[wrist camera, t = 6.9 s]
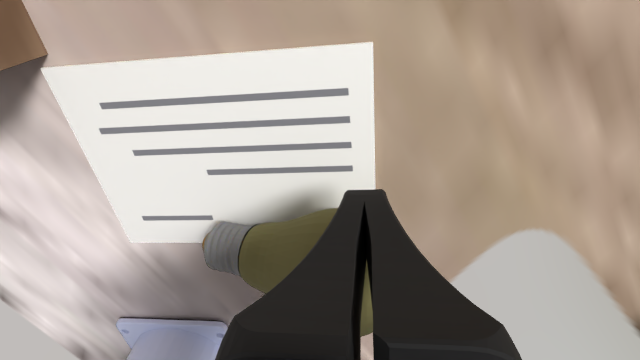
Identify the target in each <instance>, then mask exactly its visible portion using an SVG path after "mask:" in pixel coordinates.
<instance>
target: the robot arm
mask: <svg viewBox="0 0 640 360" xmlns="http://www.w3.org/2000/svg"><path fill="white" fill-rule="evenodd" d="M366 259H367V267H368V275H369V284H370V293H371V301H372V310H373V347H374V360H522V359H521V357H520V354H519V352H518V351H517V349H516V347H515V345H514V343H513V341H512V339H511V337H510V336H509V334H508V332H507V331H506V329H505V327H504V326H503V324H501V323H500V322H498V321H497V320H495V319H494V318H493V317H491V316H490V315H489V314H487V313H486V312H484V311H483V310H481V309H480V308H479V307H477V306H476V305H474V304H473V303H472V302H471V301H470V300H468V299H467V298H466V297H465V296H463V295H462V294H461V293H460V292H459V291H458V290H457V289H456V288H454V287H453V286H452V285H451V284H450V283H449V282H448V281H447V280H446V279H445V278H444V277H443V276H442V275H441V274H440V273H439V272H438V271H437V270H436V269H435V268H434V267H433V266H432V265H431V264H430V263H429V262H428V260H427V259H426V258H425V257H424V256H423V255H422V254H421V252H420V251H419V250H418V249H417V247H416V246H415V245H414V243H413V242H412V240H411V239H410V238H409V236H408V235H407V233H406V232H405V230H404V229H403V227H402V226H401V224H400V222H399V221H398V219H397V217H396V216H395V214H394V212H393V210H392V208H391V206H390V204H389V201H388V199H387V196H386V193H385V191H383V190H382V189H377V190H347V191H346V192H345V193H344V196H343V199H342V201H341V203H340V205H339V207H338V209H337V211H336V213H335V215H334V216H333V218H332V220H331V222H330V223H329V225H328V227H327V228H326V230H325V231H324V233H323V234H322V235H321V237H320V238H319V240H318V241H317V243H316V244H315V245H314V246H313V248H312V249H311V250H310V252H309V253H308V254H307V255H306V256H305V257H304V259H303V260H302V261H301V262H300V263H299V264H298V265H297V266H296V267H295V268H294V269H293V270H292V271H291V272H290V273H289V274H288V275H287V276H286V277H285V278H284V279H283V280H282V281H281V282H280V283H278V284H277V285H276V286H275V287H274V288H272V289H271V290H270V291H269V292H268V293H267V294H265V295H264V296H263V297H262V298H260V299H259V300H258V301H256V302H255V303H253V304H252V305H250V306H249V307H247V308H246V309H245V310H243V311H242V312H240V313H239V314H237V315H235V316H234V318H233V320H232V322H231V324H230V325H229V327H228V328H227V326H226V324H225V323H223V322H219V321H192V320H163V319H134V318H120V319H119V320H118V321H117V323H116V327H117V328H118V330H119V332H120V333H121V335H122V336H123V338H124V339H125V341H126V342H127V344H128V345H129V347H130V348H131V352H130V354H129V355H128V357H127V359H126V360H360V329H361V310H362V300H363V290H364V280H365V270H366Z"/></svg>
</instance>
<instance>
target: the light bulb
mask: <svg viewBox="0 0 640 360" xmlns="http://www.w3.org/2000/svg"><path fill="white" fill-rule="evenodd" d="M337 209H338V208H331V209H325V210H321V211H316V212H313V213H310V214H307V215H304V216H301V217H298V218H296V219H292V220H288V221H283V222H272V223H263V224H256V225H253V226H251V225H243V224H238V223H232V222H226V221H221V222H219V223H217V224H216V225H215V226H214V227H213V229H212V230H211V231H210V232H209V233H208V234H207V235H206V236H205V238H204V240H203V243H202V247H203V251H204V255H205V261H206V263H207V265H208V267H209V268H211V269H216V270H219V271H225V272H228V273H232V274H235V275H239V276H241V277H242V278H243V280H244V281H245V282H246V283H247V284H249V285H250V286H252V287H254V288H256V289H258V290H260V291H262V292H264V293H265V294H267V293H268V292H269V291H270V290H271V289H272V288H274V287H275V286H276V285H277V284H278V283H280V282H281V281H282V280H283V279H284V278H285V277H286V276H287V275H288V274H289V273H290V272H291V271H292V270H293V269H294V268H295V267H296V266H297V265H298V264H299V263H300V262H301V261H302V260H303V259H304V257H305V256H306V255H307V254H308V253H309V252H310V250H311V249H312V248H313V246H314V245H315V244H316V243H317V241H318V240H319V238H320V237H321V235H322V234H323V233H324V231H325V230H326V228H327V227H328V225H329V223H330V222H331V220H332V218H333V216H334V215H335V213H336V211H337ZM372 332H373V310H372V301H371V293H370V284H369V275H368V267H367V259H366V270H365V280H364V290H363V300H362V310H361V329H360V337H362V336H365V335H368V334H370V333H372Z"/></svg>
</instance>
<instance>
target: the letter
mask: <svg viewBox="0 0 640 360" xmlns="http://www.w3.org/2000/svg"><path fill="white" fill-rule="evenodd" d="M40 69H41V71H42V73H43V75H44V77H45V79H46V81H47V83H48V84H49V86H50V88H51V90H52V92H53V94H54V96H55V98H56V100H57V102H58V104H59V106H60V108H61V110H62V111H63V113H64V115H65V117H66V119H67V121H68V123H69V125H70V127H71V129H72V131H73V133H74V135H75V137H76V139H77V140H78V142H79V144H80V146H81V148H82V150H83V152H84V154H85V156H86V158H87V160H88V162H89V164H90V166H91V167H92V169H93V171H94V173H95V175H96V177H97V179H98V181H99V183H100V185H101V187H102V189H103V191H104V193H105V194H106V196H107V198H108V200H109V202H110V204H111V206H112V208H113V210H114V212H115V214H116V216H117V218H118V220H119V222H120V223H121V225H122V227H123V229H124V231H125V233H126V235H127V237H128V239H129V241H130V243H203V240H204V238H205V236H206V235H207V234H208V233H209V232H210V231H211V230H212V229H213V227H214V226H215V225H216V224H217V223H219V222H221V221H226V222H232V223H238V224H243V225H251V226H253V225H256V224H263V223H272V222H283V221H288V220H292V219H296V218H298V217H301V216H304V215H307V214H310V213H313V212H316V211H321V210H325V209H331V208H338V207H339V205H340V203H341V201H342V199H343V196H344V193H345V192H346V191H347V190H375V136H374V73H373V42H363V43H350V44H337V45H324V46H311V47H298V48H285V49H272V50H260V51H247V52H234V53H221V54H208V55H195V56H182V57H169V58H156V59H143V60H131V61H118V62H105V63H92V64H79V65H66V66H53V67H42V68H40Z"/></svg>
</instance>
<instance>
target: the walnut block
mask: <svg viewBox="0 0 640 360" xmlns="http://www.w3.org/2000/svg"><path fill="white" fill-rule="evenodd" d="M47 54H48V53H47V51H46V49H45V47H44V45H43V43H42V41H41V39H40V37H39V35H38V33H37V31H36V29H35V27H34V25H33V22H32V20H31V18H30V16H29V14H28V12H27V10H26V8H25V6H24V4H23V2H22V0H0V71H1V70H4V69H7V68H10V67H13V66H16V65H18V64H21V63H24V62H27V61H30V60H33V59H36V58H39V57H42V56H44V55H47Z"/></svg>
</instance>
